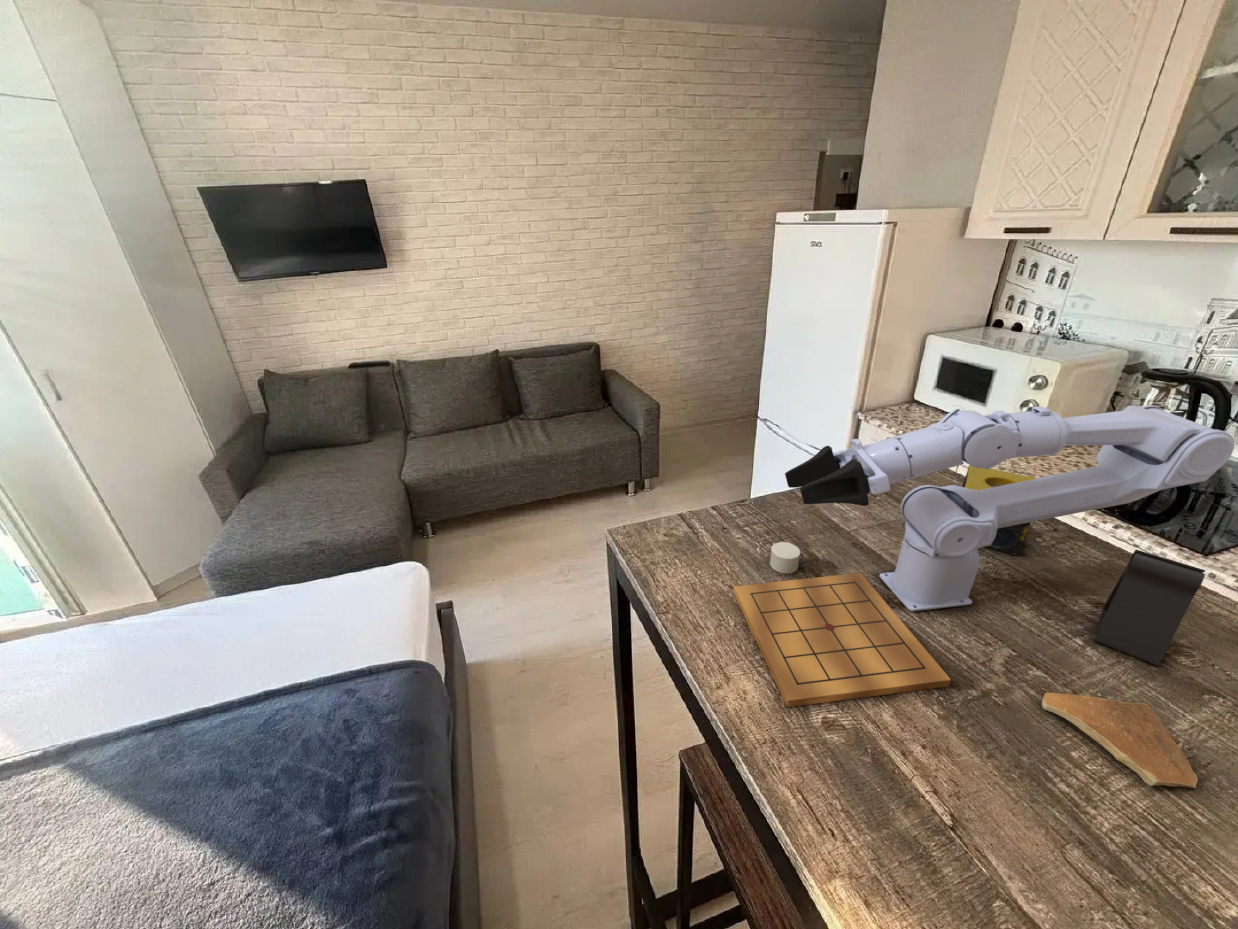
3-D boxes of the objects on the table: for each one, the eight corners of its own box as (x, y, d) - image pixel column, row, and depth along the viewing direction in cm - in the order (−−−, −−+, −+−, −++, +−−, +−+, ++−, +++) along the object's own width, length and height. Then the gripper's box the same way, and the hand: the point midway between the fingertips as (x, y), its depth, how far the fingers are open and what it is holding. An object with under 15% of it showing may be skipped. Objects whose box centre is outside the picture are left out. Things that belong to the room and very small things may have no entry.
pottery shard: (1033, 699, 59) (1040, 684, 58) (1114, 696, 59) (1123, 681, 57) (1113, 792, 49) (1123, 776, 48) (1210, 789, 49) (1222, 773, 48)
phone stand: (1102, 606, 71) (1139, 535, 66) (1162, 628, 67) (1206, 555, 62) (1092, 641, 66) (1131, 567, 60) (1157, 668, 62) (1204, 591, 56)
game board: (859, 578, 78) (860, 572, 78) (948, 686, 61) (951, 679, 60) (733, 592, 77) (733, 585, 76) (787, 707, 59) (788, 700, 58)
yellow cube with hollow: (952, 510, 94) (967, 462, 90) (1020, 527, 89) (1039, 477, 84) (946, 537, 87) (961, 486, 82) (1018, 557, 81) (1039, 504, 77)
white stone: (791, 555, 84) (793, 540, 83) (802, 572, 80) (805, 557, 79) (765, 558, 84) (767, 543, 82) (775, 575, 80) (777, 559, 79)
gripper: (869, 420, 72) (774, 448, 74) (921, 439, 58) (802, 473, 60) (880, 467, 73) (786, 493, 75) (933, 496, 59) (816, 527, 61)
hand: (794, 487), depth 67 cm, fingers open, 7 cm apart
